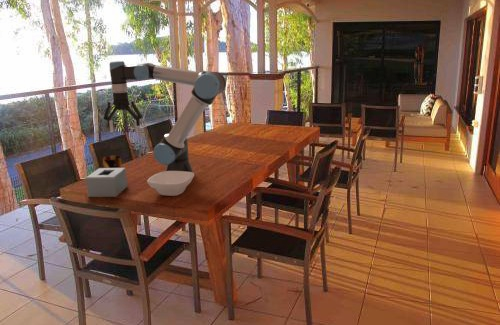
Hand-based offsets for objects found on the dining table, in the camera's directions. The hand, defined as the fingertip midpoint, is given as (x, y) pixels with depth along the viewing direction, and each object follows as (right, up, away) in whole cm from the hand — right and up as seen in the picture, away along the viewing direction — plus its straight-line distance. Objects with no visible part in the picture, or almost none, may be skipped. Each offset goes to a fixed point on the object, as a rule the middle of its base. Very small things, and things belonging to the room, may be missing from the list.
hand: (124, 132), depth 233 cm
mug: (-7, -25, +10) cm, 28 cm away
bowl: (+28, -31, -16) cm, 45 cm away
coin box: (-5, -31, -10) cm, 33 cm away
